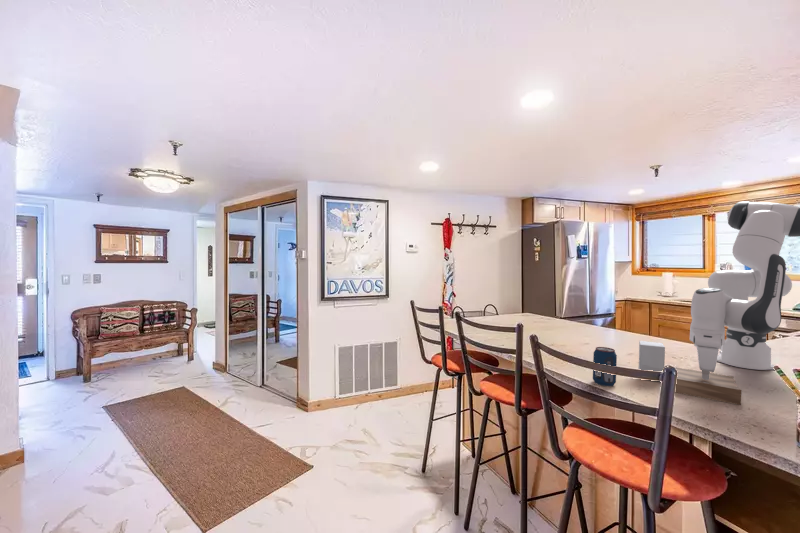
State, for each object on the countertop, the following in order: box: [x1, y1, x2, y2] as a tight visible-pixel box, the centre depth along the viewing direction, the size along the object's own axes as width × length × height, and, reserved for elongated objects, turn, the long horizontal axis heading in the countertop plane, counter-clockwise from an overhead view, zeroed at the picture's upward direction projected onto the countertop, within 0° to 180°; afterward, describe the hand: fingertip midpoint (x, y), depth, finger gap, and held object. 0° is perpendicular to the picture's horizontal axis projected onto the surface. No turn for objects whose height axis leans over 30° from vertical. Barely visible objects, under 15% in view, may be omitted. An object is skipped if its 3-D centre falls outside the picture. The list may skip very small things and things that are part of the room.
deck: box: [675, 367, 743, 406], centre depth 123 cm, size 24×16×4 cm, turn 142°
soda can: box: [592, 346, 618, 388], centre depth 126 cm, size 7×7×12 cm
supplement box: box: [638, 340, 666, 371], centre depth 132 cm, size 7×7×13 cm
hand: (705, 378), depth 122 cm, fingers closed
